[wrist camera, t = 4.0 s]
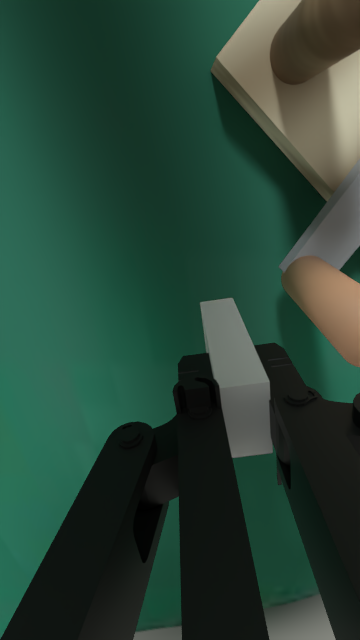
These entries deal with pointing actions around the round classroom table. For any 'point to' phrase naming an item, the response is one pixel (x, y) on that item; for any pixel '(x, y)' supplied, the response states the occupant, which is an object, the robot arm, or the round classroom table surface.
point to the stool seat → (301, 82)
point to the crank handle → (330, 269)
